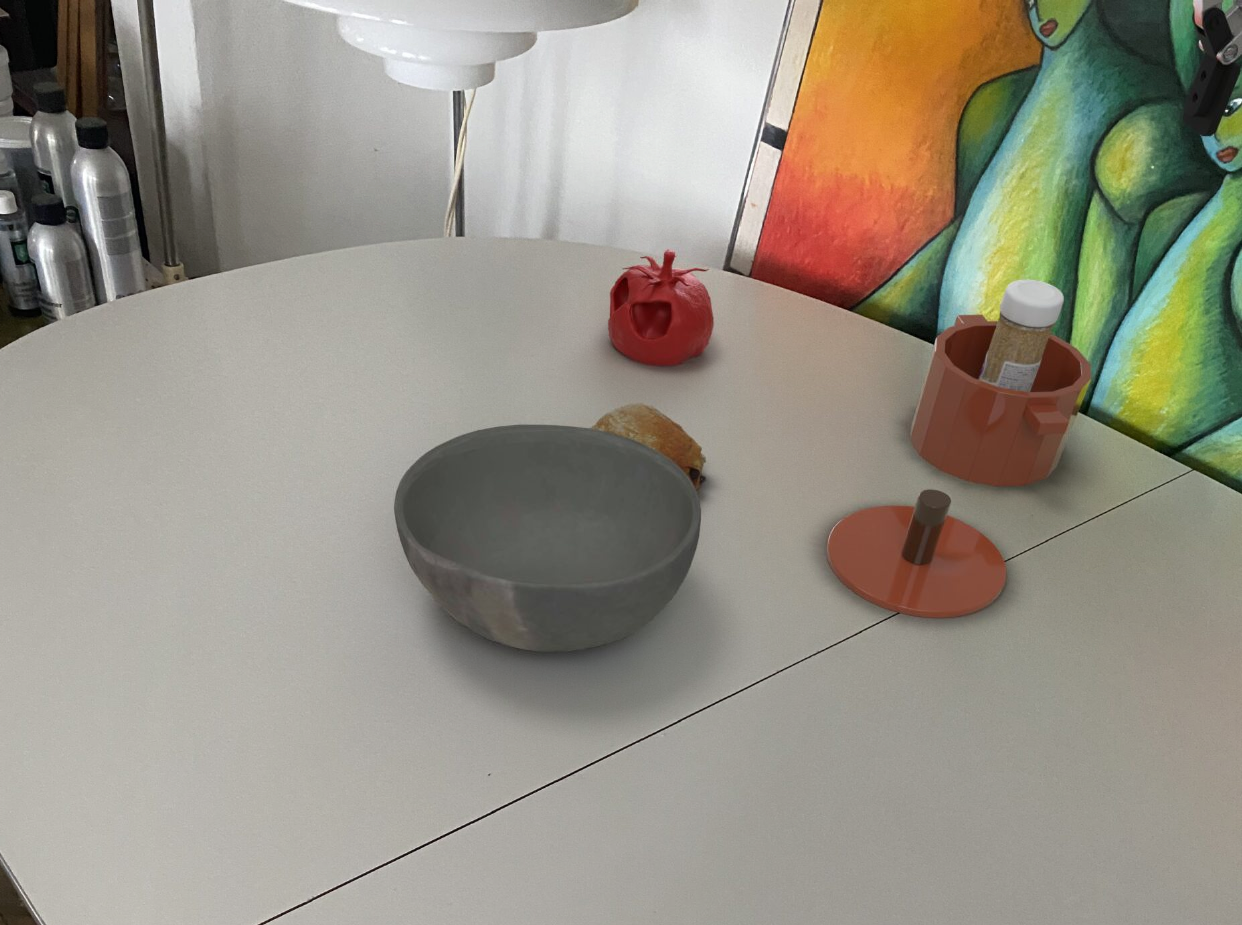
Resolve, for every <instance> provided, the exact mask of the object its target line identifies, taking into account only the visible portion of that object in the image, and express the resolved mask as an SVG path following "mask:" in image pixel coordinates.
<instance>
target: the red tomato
mask: <svg viewBox="0 0 1242 925" xmlns="http://www.w3.org/2000/svg"><path fill="white" fill-rule="evenodd" d="M677 257H678V255H677V254H676V251H675V250H672V249H669V248H668V249H666V250H665V251H664V252H663V260H662V265H659V264H658V263H657V262H656V260H655V259H654V258H653V257H651V256H648V255H646V256H640V259H646V260H647V261H648V262H649V264H638V265H633V266H629V267H623V268H622V270H626V271H624V272H623V273H622V274H621V275H620V276H619V277H618V278H617V279H616V281H615V282H614V285H613V286H612V288H611V289H610V292H609V318H608V320H607V329H608V330H607V331H608V337H609V339H610V341H611V343H612V345H613V346H614V348H615V350H617V351H619V353H621V354H622V355H624V356H625V357H627V358H628V359H631V360H632V361H633V362H637V363H640V364H643V365H647V366H654V367H655V366H656V367H675V366H676V367H677V366H679V365H682V364H684V362H686V361H687V360H688V359H691V358H696V357H698V356H700V355H701V354H702V353H703V352H704V351H705V350H706V349H707V346H709V344H710V340H711V337H712V334H713V331H714V325H715V321H714V320H715V319H714V312H713V309H712V299H711V296H710V294H709V292H708V289H707V288H706V286H705V284H703V282H702V281H700V280H699V279H698V278H697V277H696V276H695V275H694V274H693V273H692V272H707V271H709V270H710V268H707V269H704V268H700V267H693V268H689V269H685V268H679V267H678V268H677V267H673V264H674V262H675V258H677Z"/></svg>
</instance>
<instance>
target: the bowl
mask: <svg viewBox="0 0 1242 925" xmlns="http://www.w3.org/2000/svg"><path fill="white" fill-rule="evenodd" d="M393 502H394V504H393V511H394V518H395V525H396V529H397V534H398V538H399V541H400V544H401V548H402V550H403V553H404V556H405V557H406V560H407V562H408V564H409V567H410V568H411V570H412V571H413V573H414V575H415V577H417V579H418V580H419V582H420V583H421V584H422V586H423V587H424V589H426V591H427V592H428V593H429V594H430V595H431V596H432V598H433V599H434V601H436V602H437V604H438V605H439V606H440V607H441V608H442V609H443V610H444V611H445V612H447V614H449V615H450V616H451V617H452V618H453V619H454V620H455V621H457V622H458V623H459V624H460V625H462V626H463V627H465V628H467V629H469V630H470V631H472V632H473V633H475V634H477V635H479V636H481V637H483V638H485V639H487V640H489V641H491V642H496V643H499V644H502V645H505V646H508V647H512V648H515V649H520V650H525V651H526V650H527V651H534V652H547V653H548V652H549V653H550V652H551V653H552V652H553V653H557V652H558V653H559V652H572V651H580V650H584V649H585V650H587V649H593V648H597V647H600V646H604V645H607V644H610V643H611V644H612V643H613V642H616V641H619V640H621V639H624V638H627V637H628V636H630V635H632V634H633V633H636V632H637V631H638V630H640V629H641V628H643V627H644V626H646V625H648V623H650V622H651V621H653V619H654V618H656V617H657V616H658V615H659V614H660V613H661V612H662V611H664V609H665V608H666V607H667V605H668V604H669V603H670V602H671V600H672V599H673V598H674V596H675V595H676V594H677V592H678V591H679V590H680V588H681V586H682V584H683V583H684V580H685V579H686V577H687V575H688V573H689V571H690V568H691V566H692V563H693V560H694V557H695V554H696V552H697V548H698V545H699V544H698V543H699V540H700V533H701V523H702V506H701V501H700V496H699V494H698V490H697V491H696V489H695V487H694V485H693V483H692V482H691V480H690V479H689V477H688V476H687V475H686V474H685V473H684V471H683V470H682V469H681V468H680V467H679V466H678V465H677V464H676V463H674V462H673V461H672V460H671V459H669V458H668V457H666V456H664V455H663V454H661V453H660V452H658V451H656V450H654V449H652V448H651V447H649V446H646V445H644V444H642V443H640V442H637V441H635V440H632V439H629V438H626V437H624V436H620V435H617V434H613V433H609V432H604V431H600V430H595V429H590V427H589V428H588V427H582V426H570V425H557V424H511V425H500V426H493V427H488V428H483V429H477V430H473V431H471V432H467V433H464V434H461V435H458V436H455V437H453V438H451V439H449V440H447V441H444V442H442V443H441V444H438V445H436V446H434V447H433V448H432V449H430V450H428V451H426V452H425V453H424V454H422V455H421V456H420V457H419V458H418V459H417V460H416V461H415V462H413V464H412V465H410V467H409V468H408V469H407V470H406V471H405V472H404V475H402V477H401V479H400V480H399V482H398V486H397V487H396V493H395V496H394V501H393Z"/></svg>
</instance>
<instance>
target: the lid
mask: <svg viewBox="0 0 1242 925" xmlns="http://www.w3.org/2000/svg"><path fill="white" fill-rule="evenodd" d="M951 505H952V499H951V497H950V496H949V495H948V494H947V493H945V492H944V491H941V490H938V489H924V490H922V491H920V492H919V493H918V496H917V498H916V502H915V506H910V505H909V506H908V505H879V506H873V507H867V508H864V509H860V510H857V511H854V512H853V513H850V514H848V515H846V516H845V517H843V518H842V519H840V520H839V521H838V522H837V523H836V524H835V525H834V527H833V528H832V530H831V531H830V533H829V537H828V539H827V543H826V552H825V553H826V559H827V561H828V564H829V567H830V568H831V570H832V572H833V573H834V575H835V576H836V577H837V579H838V580H839V581H840V582H841V583H842V584H843V585H844V586H845V587H846V588H848V589H849V590H850V591H852V592H853V593H854V594H856V595H857V596H859V597H860V598H862V599H864V600H866V601H867V602H870V603H871V604H874V605H875V606H878V607H881V608H884V609H885V610H889V611H893V612H895V613H898V614H904V615H907V616H912V617H913V616H914V617H920V618H932V619H949V618H956V617H957V618H958V617H962V616H967V615H970V614H974V613H976V612H979V611H981V610H983V609H985V608H986V607H988V606H990V605H991V604H992V603H993V602H994V601H995V600H997V598H998V597H999V596H1000V594H1001V593H1002V591H1003V589H1004V586H1005V583H1006V580H1007V565H1006V562H1005V560H1004V557H1003V556H1002V554H1001V551H1000V550H999V549H998V548H997V546H996V545H995V544H994V543H993V542H992V541H991V540H990V538H988V537H987V536H986V535H985V534H983V533H982V532H981V531H979V530H978V529H976V528H975V527H973V526H971V525H970V524H969V523H968V524H967V523H966V522H964V521H962V520H960V519H958V518H955V517H953V516H950V515H948V513H949V511H950V507H951Z"/></svg>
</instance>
